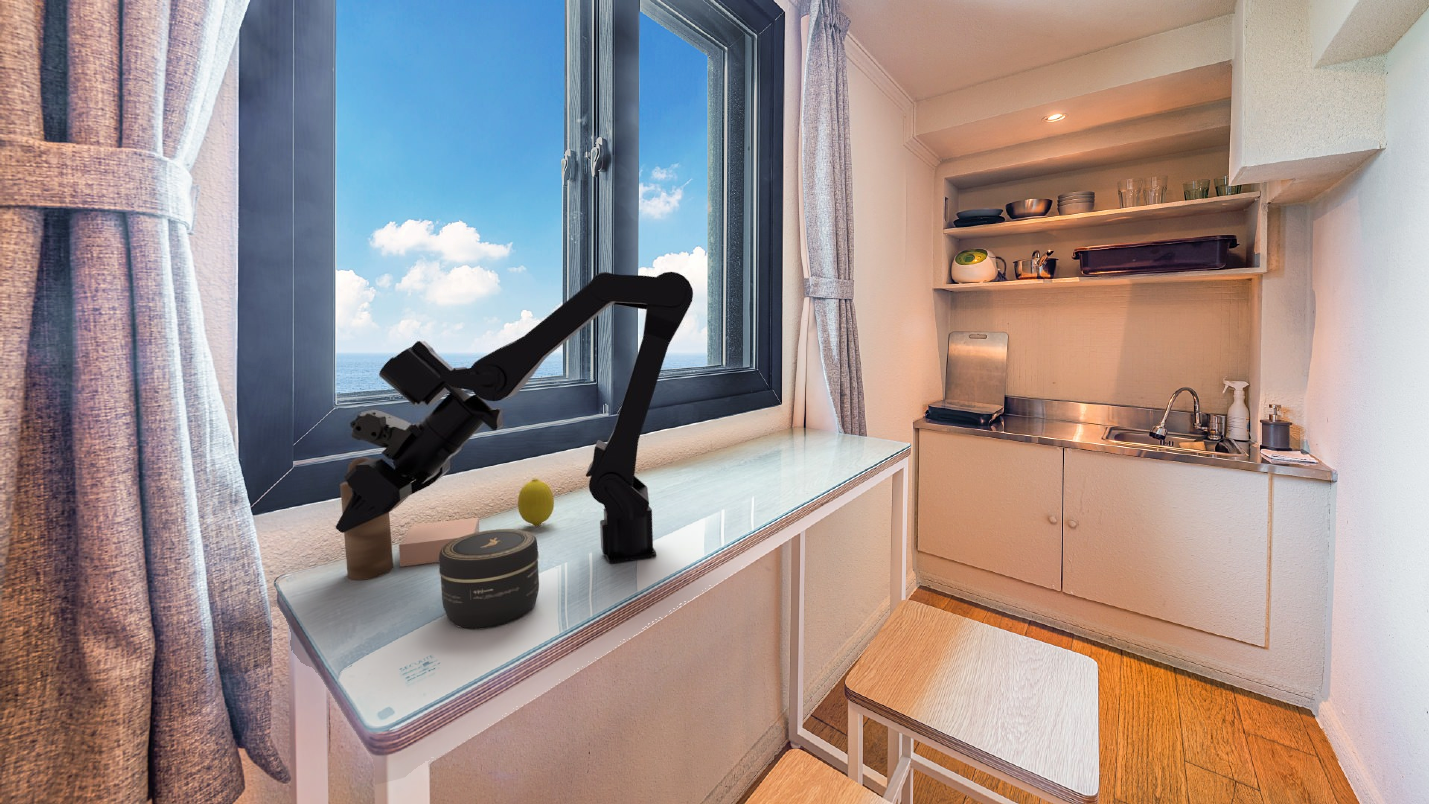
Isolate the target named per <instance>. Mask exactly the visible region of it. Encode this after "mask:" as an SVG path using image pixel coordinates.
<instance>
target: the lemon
mask: <svg viewBox="0 0 1429 804" xmlns="http://www.w3.org/2000/svg"><path fill="white" fill-rule="evenodd" d="M554 499H555V498H554V494H553V491H552V488H551V487H550V486H549V485H548V483H546V482H544V481H542V480H539V479H538V478H533V479H532V480H531V481H529V482H527V483H526V484H524V485H523V486H522V487H521V489H520V491H519V494H518V499H517V507H518V513H519V515H520V517H521V518H522V519H523V520H524V521H525V522H527V523H528V524H532V525H533V526H534V527H536V528H538V527H540V526H541V525H542V524H543V523H544V522H546V521H547V520H548V519H550V517H551V515H552V513H553V511H554V506H555V500H554Z"/></svg>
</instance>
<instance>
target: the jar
mask: <svg viewBox="0 0 1429 804" xmlns="http://www.w3.org/2000/svg"><path fill="white" fill-rule="evenodd" d="M538 547H539V546H538V539H537V537H536V535H535V534H533V533H532V532H530V531H527V530H524V529H515V528H501V529H498V528H497V529H490V530H483V531H479V532H477V533H473V534H469V535H466V536H463V537H460V538H457V539H455V540H453V541H451V542H449V543H447V544H446V545H445V546H444V547H443V548H442V549H441V551H440V554H439V562H438V563H439V565H438V567H439V568H438V571H439V572H438V573H439V576H440V585H441V598H442V599H441V601H442V606H443V607H442V608H443V609H444V612H445V616H446V617H447V619H448V621H449V622H450V623H452V624H453V625H454V626H456V627H458V628H461V629H467V630H485V629H487V630H488V629H492V628H496V627H501V626H504V625H507V624H510V623H513V622H515V621H517V620H519V619H521V618H522V617H524V616H526V615H527V614H528V613H530V611H531V610H532V609H533V607H534V606H535V604H536V602H537V600H538V596H539V595H538V594H539V590H540V579H539V578H540V577H539V574H540V573H539V558H540V554H539V549H538Z"/></svg>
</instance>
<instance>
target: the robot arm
mask: <svg viewBox="0 0 1429 804" xmlns="http://www.w3.org/2000/svg"><path fill="white" fill-rule="evenodd" d="M693 298H694V289H693V287H692V285H691V282H690V281H689V280H688V279H687V277H685V276H684V275H683V274H680V273H679V272H675V271H667V272H663V273H662V272H661V274H658V275H657V276H653V275H652V276H649V275H638V274H637V275H636V274H635V275H634V274H616V273H612V272H609V271H608V272H607V271H602V272H599V273H597V274H596V275H594V276H593V277H592V279H591V280H590V281H589V283H587V285H585V286H583V288H580V290H579V291H577V292H576V293H575V294H574V295H572V296H571V297H570V298H569V299H568V300H566V301H565V302H564V303H563V304H562V305H560V306H559V307H558V308H557V309H555V310H554V311H553V312H552V313H551V314H550V315H548V316H547V317H546V318H544V319H543V320H542V321H540V323H538V324H537V325H536V326H534V327H533V328H532V329H531V330H529V331H528V332H527V333H525V335H523V336H522V337H519V338H517V339H516V340H514V341H511V342H510V343H508V344H505V345H503V346H501V347H499V348H497V349H495V350H494V351H492V352H490V353H488V354H486V355H485V356H482V357H481V358H479V359H478V360H476V361H475V362H474V363H473V364H472V365H471V366H470V367H467V366H462V367H459V366H458V367H454V368H453V367H452V366H451V365H450V364H449V363H448V362H446V361H445V360H444V358H442V357H441V356H440V355H439V354H438V353H437V352H436V351H435V350H434V348H433V347H432V346H431V345H430V344H429V343H428V342H426V341H425V340H424V341H423V340H417V341H416V342H415V343H413V345H412V346H411V347H408V348H405V350H403V351H401V352H400V353H398V354H397V355H396V356H392V357H390V359H389V360H387V361H386V362H385V364H384V365H382V368H381V369H380V371H379V372H378V376H379V378H381V379H382V380H383V381H384V382H385V383H387V384H388V385H389V386H390V387H391V388H393V389H394V390H395V391H396V392H397V393H398V394H400V395H401V396H402V397H404V399H406V400H407V401H408V402H409V403H410V404H411V405H413V407H419V406H421V405H422V404H424V405H425V406H427V407H428V408H430V407H431V406H434V405H435V404H436V403H437V402H439V401H440V400H441V399H443V400H441V402H439V404H437V406H436V407H435V408H433V410H432V411H430V413H429V414H428V415H427V416H425V418H424V419H423V420H421V421H420V422H417V423H416V422H414V423H411V422H409V421H407V420H405V419H402V418H400V417H397V416H394V415H392V414H390V413H387V412H384V411H381V410H378V409H371V410H370V409H369V410H366V411H361V412H360V413H359V414H357V417H356V418H355V419H354V420H352V421H351V422H350V423H349V426H350V427H351V428H352V431H351V433H350V437H351V438H352V439H355V440H357V441H360V440H362V441H363V442H368V443H369V444H370V443H371V444H372V445H375V446H377V447H381V448H384V450H383V451H381V454H382V455H384V456H385V458H387V459H388V460H391V461H392V462H391V464H392V465H393V466H394V467H392V466H391V465H390V464H389V463H388V462H386V460H384V459H383V458H370V459H369V460H367V461H364V462H362V463H360V464H357V465H355V466H354V467H353V468H352V469H351V470H350V471H349V472H348V471H347V473H346V474H345V475H344V477H343V478H344V480H345V481H344V482H347V484H348V486H349V487H350V488H351V489H352V497H351V499H350V501H349V503H348V505H347V507H346V508H345V510H344V512H343V514H342V513H341V516H340V518H339V519H338V522H337V523H336V525H335V529H336V530H338V531H339V533H341V534H344V532H346V531H348V530H350V529H353V528H355V527H357V526H359V525H361V524H363V523H366V522H368V521H370V520H372V519H375V518H377V517H379V516H381V515H384V514H387V513H389V514H390V512H392V511H393V510H395V509H396V508H398V507H399V506H400V505H401V504H403V502H405V501H406V500H407V499H408V498H409V497H410V496H412V495H413V494H415V493H418V492H420V491H421V490H423V489H426V488H427V487H429V486H431V485H433V484H434V483H436V481H438V480H440V479H442V478H443V476H444V475H446V473H447V472H449V471H450V469H451V460H450V459H451V458H452V457H454V456H455V455H457V454H458V453H459V452H460V451H461V450H462V449H463V445H465V444H466V443H467V441H469V439H471V438H472V436H474V435H475V433H477V431H479V429H480V428H482V427H483V426H484V424H485V425H487V427H489V428H490V429H491V430H493V431H497V430H498V429H500V428H503V426H504V421H503V411H504V408H503V407H498V408H495V407H494V408H493V407H492V406H491V405H490V404H488V403H487V402H498V401H502V400H505V399H508V398H511V397H514V396H515V395H517V394H518V393H519V392H520V391H521V390H522V388H523V387H524V386H525V385H526V384H527V383H528V382H529V380H530V379H532V377H533V376H534V374H535V373H536V371H537V370H538V369H539V368H540V367H541V365H542V364H543V362H544V361H545V360H546V359H547V358H548V357H549V356H550V355H551V354H552V353H554V352H555V351H556V350H557V349H559V348H560V347H561V346H563V345H564V344H565V343H566V342H568V340H569V339H571V338H572V337H573V336H575V335H576V334H577V333H578V332H579V331H581V330H582V329H583V328H585V326H587V325H588V324H589V323H590V322H591V321H593V320H594V319H595V318H596V317H598V316H599V315H600V314H601V313H603V312H604V311H605V310H606V309H608V308H609V307H610V306H612V305H614V306H619V307H620V306H621V307H627V308H633V309H639V310H645V317H644V326H643V333H642V334H643V335H642V339H641V342H640V346H639V349H638V353H637V355H636V359H635V363H634V365H633V369H632V372H631V375H630V378H629V381H628V385H627V388H626V391H625V394H624V398H623V399H622V403H621V407H620V409H619V413H618V416H617V419H616V422H615V426H614V429H613V431H612V433H611V434H610V437H609V438H608V440H607V442H604V441H602V440H600V439H598V440H597V441H596V443H595V447H594V451H593V457H592V462H591V463H590V464H589V465H588V468H587V471H586V473H585V477H586V478H588V477H590V478H589V482H588V483H589V484H588V489H589V493H590V494H591V497H592V498H593V499H594V500H595V501H597V502H598V503H600V504H601V505H603V507H604V508H603V519H601V520H600V521H599V529H600V530H599V532H600V533H599V534H600V535H599V536H600V548H601V549H600V550H601V552H602V554H603V555H605V556H606V559H607V561H608V563H610V564H611V563H613V564H614V563H619V562H625V561H627V562H628V561H634V560H642V559H647V558H653V557H656V556H657V551H656V550H655V548H654V539H653V537H654V535H653V534H654V532H653V509H652V508H651V507H650V499H649V491H648V490H649V489H648V486H647V485H646V484H645V483H644V482H643V481H642V480H640V479H639V478H638V477H636V476H635V472H636V464H637V456H638V449H639V448H638V446H639V441H640V438H641V437H640V436H641V434H642V431H643V426H644V424H645V421H646V418H647V415H648V411H649V408H650V405H651V402H652V399H653V395H654V392H655V390H656V387H657V383H658V380H659V377H660V373H661V370H662V369H663V368H662V367H663V365H664V361H665V358H666V354H667V353H668V352H667V351H668V348H669V346H670V344H671V341H672V340H673V338H674V336H675V335H676V333H677V331H678V329H679V327H680V326H681V324H682V321H684V318H685V316H686V314H687V312H688V311H689V309H690V307H691V304H692V302H693ZM465 390H466V391H472V392H473V395H470V394H469V393H467V392H465ZM448 392H449V393H448ZM447 393H448V395H447ZM445 395H447V396H445ZM443 397H445V398H443ZM486 401H487V402H486Z"/></svg>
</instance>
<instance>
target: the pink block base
mask: <svg viewBox="0 0 1429 804" xmlns="http://www.w3.org/2000/svg"><path fill="white" fill-rule="evenodd" d="M477 532H480V518H479V517H469V518H461V519H453V520H445V521H444V520H443V521H434V522H426V523H425V522H424V523H417V524H412V525H411V527H410V529H409V530H408V531H407V532H406V533H405V535H404V536H403V539H402V540H401V541H400V543H399V544H398V549H399V550H398V551H399V565H400V568H401V567H409V566H416V565H423V564H430V563H431V564H432V563H439V554H440V551H441V549H442V548H443V547H444V546H445V545H446V544H447V543H449V542H451V541H453V540H455V539H457V538H460V537H463V536H466V535H469V534H473V533H477Z"/></svg>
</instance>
